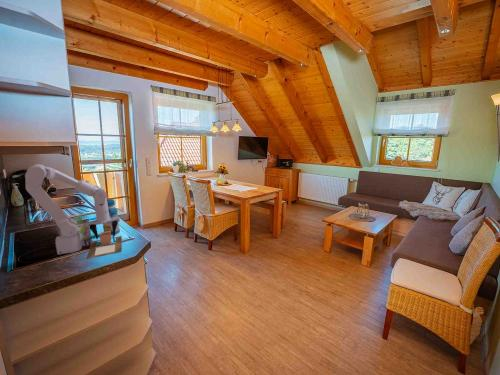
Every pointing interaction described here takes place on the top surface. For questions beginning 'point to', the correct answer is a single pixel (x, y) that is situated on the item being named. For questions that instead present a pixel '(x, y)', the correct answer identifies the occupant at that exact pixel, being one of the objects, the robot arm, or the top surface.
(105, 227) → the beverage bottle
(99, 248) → the cream square
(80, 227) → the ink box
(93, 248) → the walnut pocket board
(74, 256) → the top surface
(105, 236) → the terracotta block
